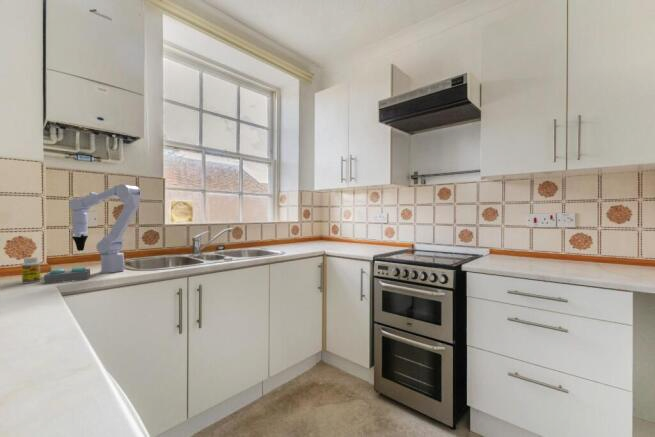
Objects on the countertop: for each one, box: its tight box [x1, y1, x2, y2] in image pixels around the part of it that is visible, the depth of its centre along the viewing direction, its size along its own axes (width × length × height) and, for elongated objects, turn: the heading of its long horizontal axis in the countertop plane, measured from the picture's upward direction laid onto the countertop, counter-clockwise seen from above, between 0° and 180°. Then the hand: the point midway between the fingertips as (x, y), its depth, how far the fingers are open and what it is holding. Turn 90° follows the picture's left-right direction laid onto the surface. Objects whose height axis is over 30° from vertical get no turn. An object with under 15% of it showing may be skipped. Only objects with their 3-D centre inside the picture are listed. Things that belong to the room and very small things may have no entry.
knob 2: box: [71, 266, 86, 272], centre depth 133 cm, size 5×5×4 cm
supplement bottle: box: [21, 256, 41, 284], centre depth 127 cm, size 6×6×10 cm
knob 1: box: [50, 268, 66, 274], centre depth 129 cm, size 5×5×4 cm
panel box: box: [43, 268, 91, 284], centre depth 131 cm, size 14×8×3 cm, turn 122°
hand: (80, 250), depth 149 cm, fingers closed
